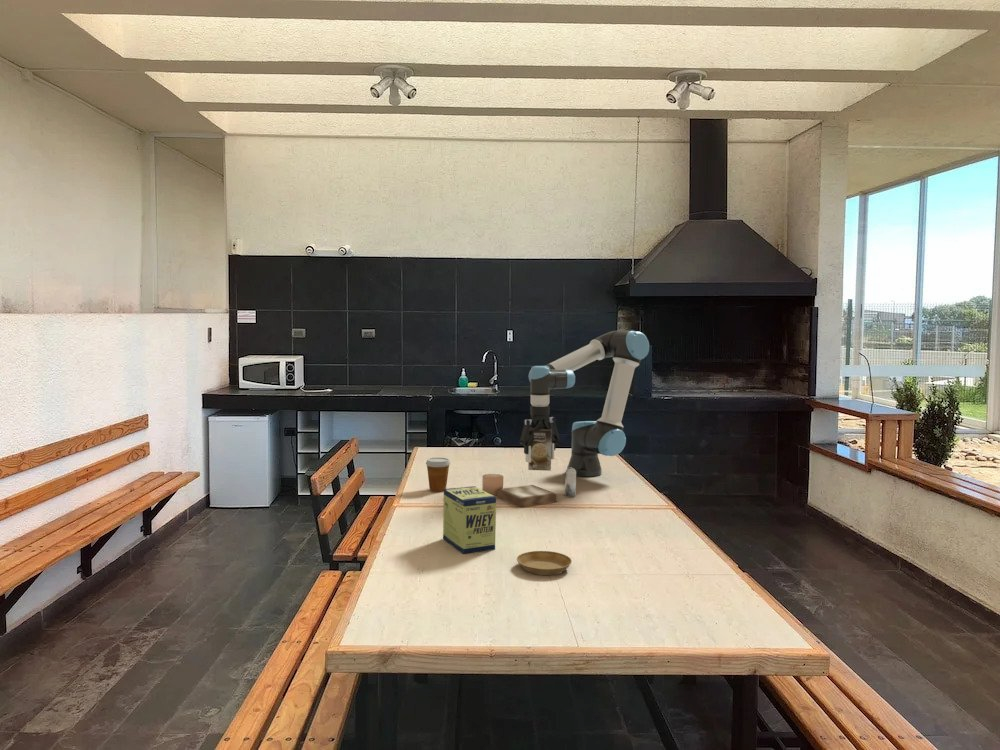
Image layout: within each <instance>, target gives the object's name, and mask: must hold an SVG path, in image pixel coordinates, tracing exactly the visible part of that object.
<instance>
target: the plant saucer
mask: <svg viewBox="0 0 1000 750" xmlns="http://www.w3.org/2000/svg"><path fill="white" fill-rule="evenodd" d="M516 562H517V563H518V564H519V565H520V567H522V568H523V570H525V571H526V572H528V573H529V574H534V575H538V576H554V575H559V574H562V573H563V572H565V570H567V569H568V568H569V567H570V565H571V564H572V562H573V561H572V559H571V557H569V556H568V555H566V554H564V553H559V552H556V551H548V550H533V551H527V552H524V553H520V554H519V555H517V557H516Z"/></svg>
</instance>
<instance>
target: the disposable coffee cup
mask: <svg viewBox="0 0 1000 750" xmlns="http://www.w3.org/2000/svg"><path fill="white" fill-rule="evenodd" d="M425 464H426V465H425V466H426V467H427V468H426V469H427V470H426V471H427V475H428V477H427V478H428V487H429V491H430V492H433V493H442V492H444V489H447V483H448V475H449V470H450V466H451V465H450V464H451V461H450V459H449V458H448V457H447V458H446V457H430V458H427V459H426V462H425Z"/></svg>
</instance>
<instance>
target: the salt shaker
mask: <svg viewBox="0 0 1000 750" xmlns="http://www.w3.org/2000/svg"><path fill="white" fill-rule="evenodd" d="M564 483H565V484H564V486H565V487H564V488H565V489H564V496H565V497H566V498H575V497H576V489H577V487H576V485H577V476H576V470H575V469H574V468H572V467H570V468H568V469H567V468H566V469H565V482H564Z"/></svg>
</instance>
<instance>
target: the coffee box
mask: <svg viewBox="0 0 1000 750" xmlns="http://www.w3.org/2000/svg"><path fill="white" fill-rule="evenodd" d="M532 431H533V430H530V428H529V432H528V433H529V435H530V434H531V432H532ZM551 432H552V429H551V427H550V429H545V428H544V429H543V428H541V429H538V430H537V431H534V436H533V438H532V440H531V442H530V444H529V446H531V462H530V463H529V462H527V465H528V466H527V468H528V469H527V470H528V471H545V472H546V471H552V459H551Z"/></svg>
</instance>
